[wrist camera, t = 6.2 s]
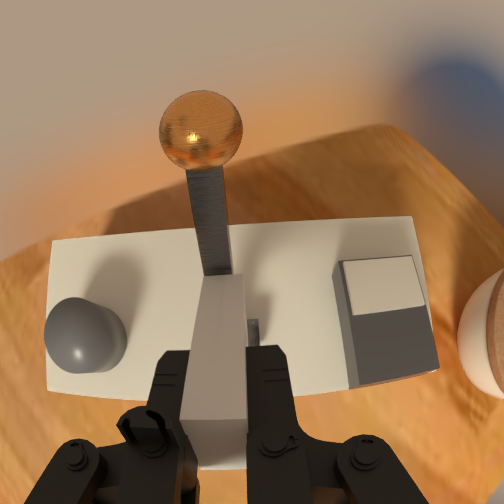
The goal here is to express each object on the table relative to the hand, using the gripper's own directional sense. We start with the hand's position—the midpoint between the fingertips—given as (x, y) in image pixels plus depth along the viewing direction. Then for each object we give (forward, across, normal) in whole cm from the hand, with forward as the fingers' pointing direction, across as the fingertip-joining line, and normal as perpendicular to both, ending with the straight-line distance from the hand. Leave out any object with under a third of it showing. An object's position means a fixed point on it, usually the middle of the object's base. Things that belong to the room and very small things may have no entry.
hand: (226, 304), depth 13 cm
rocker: (+2, +8, -3) cm, 8 cm away
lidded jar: (+6, +21, -10) cm, 24 cm away
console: (+8, 0, -7) cm, 11 cm away
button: (+3, -8, -4) cm, 10 cm away
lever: (+2, 0, -4) cm, 4 cm away
